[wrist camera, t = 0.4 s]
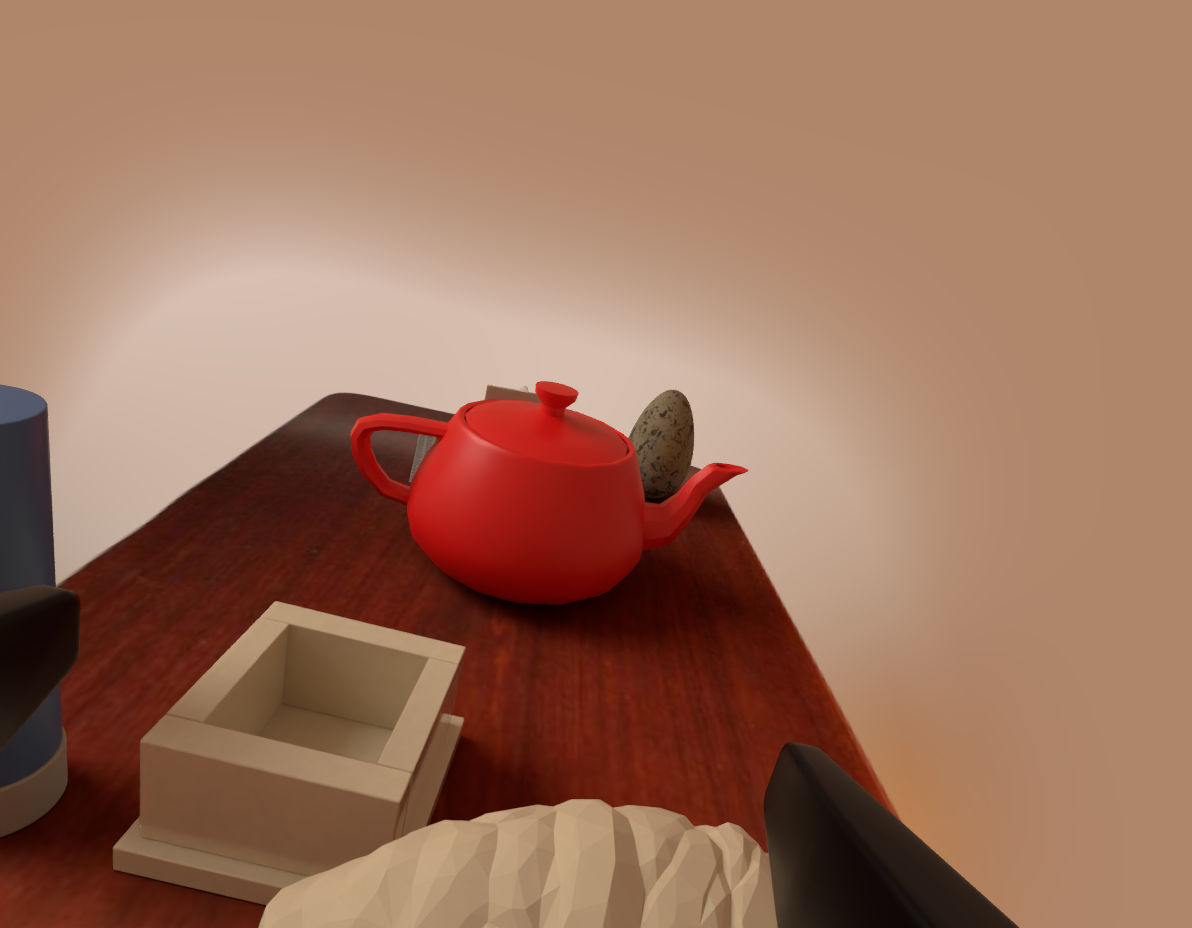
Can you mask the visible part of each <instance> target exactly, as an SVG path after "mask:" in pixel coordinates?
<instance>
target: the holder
mask: <svg viewBox="0 0 1192 928" xmlns="http://www.w3.org/2000/svg"><path fill="white" fill-rule="evenodd" d="M465 650H466V647H464V646H460V645H456V644H452V643H447V642H443V641H439V640H435V639H431V638H427V637H423V636H418V635H414V634H410V633H406V632H402V631H398V630H394V629H390V628H385V627H381V626H377V625H373V624H369V623H365V622H361V621H356V620H352V619H348V618H344V617H340V616H336V615H332V614H327V613H323V612H319V611H315V610H311V609H307V608H303V607H299V606H294V605H290V604H286V603H282V602H278V601H275V602H274V603H273V604H272V605H271V606H270V607H269V608H268V609H267V611H266V612H265V613H264V614H263V615H262V616H261V617H260V618H259V619H258V620H257V621H256V622H255V623H254V624H253V625H252V626H251V627H250V628H249V629H248V630H247V631H246V632H245V633H244V634H243V635H242V636H241V637H240V638H239V639H238V640H237V641H236V642H235V643H234V644H233V645H232V646H231V647H230V648H229V649H228V651H227V652H226V653H225V654H224V655H223V656H222V657H221V658H220V659H219V660H218V661H217V662H216V663H215V664H214V665H213V666H212V667H211V668H210V669H209V670H208V671H207V672H206V673H205V674H204V675H203V676H202V677H201V678H200V679H199V680H198V681H197V682H196V683H195V684H194V685H193V686H192V687H191V688H190V690H189V691H188V692H187V693H186V694H185V695H184V696H183V697H182V698H181V699H180V700H179V701H178V702H177V703H176V704H175V705H174V706H173V707H172V708H171V709H170V710H169V711H168V712H167V714H166V715H164V716H163V717H162V719H161V720H160V721H159V722H158V723H157V724H156V725H155V726H154V727H153V728H152V729H151V730H150V731H149V732H148V733H147V734H146V735H145V736H144V737H143V738H142V739H141V741H140V816H139V817H138V818H137V820H136V821H135V822H134V823H133V824H132V825H131V827H130V828H129V829H128V830H127V831H126V833H125V834H124V835H123V836H122V837H121V838H120V840H119V841H118V842H117V843H116V844H115V845H114V847H113V869H114V870H117V871H121V872H126V873H130V874H134V875H138V876H143V877H147V878H151V879H155V880H160V881H164V882H168V883H173V884H177V885H181V886H185V887H190V888H194V889H198V890H202V891H207V892H211V893H215V894H219V895H224V896H228V897H232V898H236V899H241V900H245V901H249V902H253V903H258V904H262V905H267V904H268V903H269V902H270V901H271V900H272V899H273V898H274V897H275V896H276V895H277V894H278V892H279V891H280V890H281V889H283V888H285V887H287V886H289V885H292V884H294V883H296V882H298V881H301V880H303V879H305V878H307V877H310V876H313V875H316V874H319V873H322V872H325V871H328V870H331V869H333V868H335V867H337V866H340V865H342V864H344V863H347V862H349V861H351V860H354V859H357V858H360V857H364V856H367V855H369V854H371V853H372V852H374V851H375V850H377V849H378V848H379V847H381V846H383V845H385V844H387V843H390V842H392V841H394V840H397V839H399V838H402V837H404V836H406V835H408V834H409V833H411V832H413V831H416V830H418V829H421V828H424V827H427V826H429V824H430V821H431V819H432V816H433V813H434V810H435V807H436V805H437V802H438V799H439V796H440V793H441V791H442V788H443V785H444V782H445V779H446V777H447V774H448V771H449V768H450V766H451V763H452V760H453V757H454V754H455V752H456V749H457V746H458V743H459V740H460V738H461V734H462V730H463V725H464V720H465V719H464V718H462V717H458V716H454V715H452V714H453V709H454V704H455V700H456V695H457V690H458V685H459V680H460V675H461V670H462V665H463V660H464V655H465Z"/></svg>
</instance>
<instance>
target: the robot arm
mask: <svg viewBox="0 0 1192 928" xmlns="http://www.w3.org/2000/svg"><path fill="white" fill-rule="evenodd" d="M79 638H80V599H79V597H78V595H77V594H76V593H74V592H73V591H70V590H65V589H60V588H56V587H51V586H46V585H35V586H30V587H25V588H20V589H14V590H9V591H4V592H0V752H1V751H2V750H3V748H4V747H5V746H6V745H7V744H8V743H9V741H10V740H11V739H12V738H13V737H14V736H15V734H16V733H17V732H18V731H19V730H20V729H21V728H22V726H23V725H24V724H25V723H26V722H27V721H28V719H29V718H30V717H31V716H32V715H33V714H34V712H35V711H36V710H37V709H38V708H39V707H40V705H41V704H42V703H43V702H44V701H45V700H46V699H47V697H48V696H49V695H50V694H51V693H52V692H53V690H54V689H55V688H56V687H57V686H58V685H59V683H60V682H61V681H62V680H63V679H64V678H65V676H66V675H67V674H68V673H69V672H70V670H71V669H72V667H73V666H74V664H75V662H76V659H77V656H78V653H79ZM764 819H765V827H766V836H767V845H768V853H769V862H770V870H771V879H772V888H773V896H774V905H775V913H776V920H777V928H1019V927H1018V926H1017V925H1016V924H1015V923H1014V922H1012V921H1011V920H1010V919H1009V918H1008V917H1007V916H1006V915H1004V913H1002V912H1001V911H1000V910H999V909H998V908H997V907H996V906H994V905H993V904H992V903H991V902H990V901H989V900H988V899H987V898H986V897H985V896H983V895H982V894H981V893H980V892H979V891H978V890H976V888H974V887H973V886H972V885H971V884H970V883H969V882H968V881H967V880H965V879H964V878H963V877H962V876H961V875H960V874H959V873H958V872H957V871H955V870H954V869H953V868H952V867H951V866H950V865H949V864H947V863H946V862H945V861H944V860H943V859H942V858H941V857H940V856H939V855H938V854H936V853H935V852H934V851H933V850H932V849H931V848H930V847H929V846H927V845H926V844H925V843H924V842H923V841H922V840H921V839H920V838H918V837H917V836H916V835H915V834H914V833H913V832H912V831H911V830H910V829H908V828H907V827H906V826H905V825H904V824H903V823H902V822H901V821H900V820H899V819H897V818H896V817H895V816H894V815H893V814H892V813H891V812H890V811H888V810H887V809H886V808H885V807H884V806H883V805H882V804H881V803H880V802H878V801H877V800H876V799H875V798H874V797H873V796H872V795H871V794H869V793H868V792H867V791H866V790H865V789H864V788H863V787H862V786H861V785H859V784H858V783H857V782H856V781H855V780H854V779H853V778H852V777H851V776H849V775H848V774H847V773H846V772H845V771H844V770H843V769H842V768H840V767H839V766H838V765H837V764H836V763H835V762H834V761H833V760H832V759H830V758H829V757H828V756H827V755H826V754H825V753H824V752H823V751H822V750H820V749H819V748H817V747H814V746H809V745H804V744H799V743H794V742H789V743H787V744H785V745H784V747H783V748H782V750H781V752H780V754H779V757H778V760H777V763H776V765H775V768H774V771H773V773H772V776H771V779H770V782H769V784H768V787H767V790H766V793H765V798H764Z"/></svg>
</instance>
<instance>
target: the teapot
mask: <svg viewBox="0 0 1192 928" xmlns="http://www.w3.org/2000/svg"><path fill="white" fill-rule="evenodd" d="M535 391H536V394H537V395H538V397H539V399H540V400H541V403H536V402H530V401H523V400H515V399H488V400H483V401H478V402H472V403H468V404H466V405H464V406H463V407H461V408H460V409H459V410H458V412H457V413H456V414H455V415H454V416H453V417H452V419H451V420H450V421H449V422H448V423H446V422H441V421H435V420H430V419H425V418H419V417H414V416H406V415H396V414H386V413H380V414H376V415H371V416H366V417H362V418H359V419H358V420H357V422H356V424H355V426H354V427H353V429H352V431H351V444H352V454H353V458H354V460H355V462H356V463H357V465H358V467H359V469H360V471H361V473H362V475H363V477H364V478H365V479H366V480H367V481H368V482H369V483H370V484H371V485H372V486H373V487H374V488H375V489H376V490H377V491H378V493H379V494H380V495H381V496H383V497H386V498H389V499H391V500H394V501H396V502H399V503H402V504H404V505H407V512H408V518H409V525H410V532H411V536H412V538H413V539H414V540H415V542H416V543H417V544H418V546H419V547H420V548H421V549H422V551H423V552H424V553H425V554H426V555H427V556H428V557H429V559H430V560H431V561H432V562H433V563H434V564H435V565H436V567H437V568H438V569H439V570H440V571H442V572H443V573H444V574H446V575H447V576H449V577H451V578H453V579H454V580H456V581H458V582H460V583H462V584H463V585H465V586H467V587H469V588H471V589H473V590H474V591H476V592H478V593H482V594H485V595H488V596H492V597H496V598H500V599H503V600H507V601H511V602H514V603H522V604H544V605H562V604H566V603H571V602H575V601H579V600H584V599H588V598H592V597H596V596H600V595H602V594H603V593H605V592H607V591H609V590H611V589H612V588H613V587H614V586H615V585H617V584H618V583H619V582H620V581H621V580H622V579H623V578H625V577H626V576H627V575H628V574H629V573H630V572H631V571H632V570H633V568H634V567H635V566H636V564H637V563H638V562H639V561H640V559H641V554H642V551H643V550H647V549H652V548H657V547H662V546H666V545H670V543H671V542H672V541H673V540H674V539H675V538H676V537H677V536H678V534H679V533H680V532H681V531H682V530H683V529H684V528H685V527H686V525H687V524H688V523H689V522H690V521H691V520H692V518H693V516H694V515H695V513H696V512H697V510H698V508H699V507H700V505H701V504H702V502H703V500H704V499H705V497H706V496H707V494H708V493H709V492H710V491H712V490H713V489H715V488H717V487H718V486H720V485H722V484H723V483H725V482H727V481H728V480H730V479H731V478H733V477H735V476H736V475H739V474H742V473H745V472H747V471H748V470H747V469H745V468H743V467H740V466H735V465H731V464H723V463H712V464H709V465H707V466H706V467H704V468H703V469H702V470H700V471H699V472H697V473H696V474H694V475H693V476H692V477H690V479H689V480H688V481H687V482H686V483H685V484H684V486H683V487H682V488H681V489H680V490H679V491H678V492H677V493H676V494H674V495H673V496H671V497H670V498H668V499H667V500H665V501H664V502H662V503H661V504H656V503H649V502H645V496H644V489H643V485H642V480H641V474H640V469H639V464H638V460H637V455H636V451H635V447H634V445H633V443H632V441H630V440H629V439H628V438H627V437H626V436H625V435H624V434H622V433H620V432H619V431H617V430H615V429H614V428H612V427H610V426H609V425H607V424H605V423H604V422H601V421H599V420H596V419H593V418H591V417H589V416H586V415H584V414H581V413H579V412H575V411H572V410H568V409H566V407H568V406H569V405H571V404H572V403H574V402H575V401H576V398H577V396H578V392H577V391H576V390H575V389H573V388H571V387H569V386H566V385H563V384H559V383H554V382H545V381H543V382H537V384H536V390H535ZM379 430H393V431H402V432H410V433H415V434H421V435H426V436H431V437H436V440H435V443H434V444H433V445H432V447H431V448H430V449H429V451H428V452H427V453H426V455H425V456H424V458H423V459H422V461H421V463H420V465H419V467H418V469H417V471H416V473H415V474H414V476H413V479H412V481H411V485H410V487H409V486H407V485H404V484H402V483H399V482H397V481H394V480H391V479H390V478H389V477H388V476H387V474H386V473H385V472H384V470H383V469H382V468H381V466H380V465H379V464H378V462H377V460H376V458H375V455H374V453H373V451H372V448H371V441H370V436H371V435H372V434H373V433H374V431H379Z"/></svg>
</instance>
